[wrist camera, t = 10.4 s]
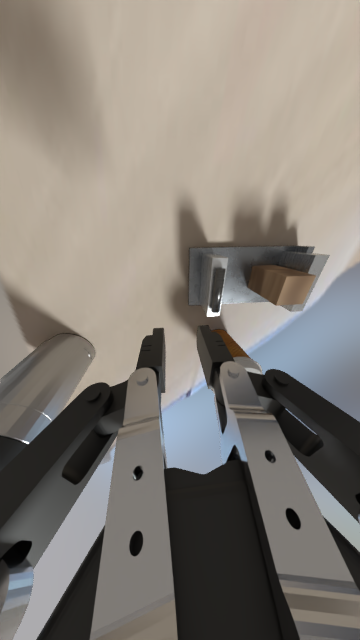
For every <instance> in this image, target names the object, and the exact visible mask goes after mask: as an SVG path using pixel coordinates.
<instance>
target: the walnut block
mask: <svg viewBox="0 0 360 640" xmlns="http://www.w3.org/2000/svg"><path fill="white" fill-rule="evenodd" d="M315 277H316V275H313V274H309V273H305V272H301V271H297V270H293V269H289V268H285V267H281V266H277V265H259V266H253V267H252V272H251V276H250V280H249V284H248V289H250V290H252V291H253V292H255V293H257V294H258V295H260V296H261V297H263V298H265V299H266V300H268V301H269V302H271V303H273V304H274V305H276V306H277V305H296V304H303V303H304V300H305V298H306V296H307V294H308V292H309V290H310V288H311V286H312V284H313V281H314V279H315Z"/></svg>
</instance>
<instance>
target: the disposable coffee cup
mask: <svg viewBox="0 0 360 640" xmlns="http://www.w3.org/2000/svg"><path fill="white" fill-rule="evenodd" d="M211 332H217V333H218V334H219V335H221V337H222V339H223V341H224V342H225V344H226V346H227V348H228V350H229V351H230V353H231V355H232V357H233V359H234V360H235V362H236V363H239V364H240V365H242V366H243V367H244V368H245V369H246V371H248V372H252V373H257V374H262V368H261V366H260V365H259V364H258V363H257V362H255V361H254V360H253V359H251V358H250V357H249V356H248V355H247V354H246V353H245V352H244V351H243V349H242V348H241V347H240V346H239V345H238V344H237V343H236V342H235V341H234V340H233V339H232V337H231V336H230V335H229V334H228V333H227V332H226V331H224V330H221V329H217V330H213V331H211ZM262 375H263V374H262ZM211 390H212V391H213V392H214V389H213V388H212V389H211ZM214 394H215V392H214Z"/></svg>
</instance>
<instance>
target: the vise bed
mask: <svg viewBox="0 0 360 640" xmlns="http://www.w3.org/2000/svg"><path fill="white" fill-rule="evenodd" d="M314 248H315V247H311V246H258V247H209V248H189V294H188V304H189V305H201V304H200V302H199V297H200V281H201V265H202V254H203V253H215V254H218V255H221V256H224V257H227V258H228V263H227V269H226V276H225V283H224V289H223V296H222V302H221V304H228V303H249V302H269V301H268V300H266V299H265V298H263V297H261V296H260V295H258V294H257V293H255V292H253V291H252V290H250V289H248V284H249V280H250V276H251V272H252V267H253V266H259V265H277V266H281V267H285V268H289V269H293V270H297V271H301V272H305V273H309V274H313V275H316V277H315V279H314V281H313V284H312V286H311V288H310V290H309V292H308V294H307V296H306V298H305V300H304V303H303V304H296V305H280V306H282V307H284V308H285V309H287V310H289V311H291V312H293V311H302V310H303V308H304V306H305V304H306V302H307V300H308V298H309V296H310V294H311V292H312V290H313V288H314V286H315V284H316V282H317V280H318V278H319V276H320V274H321V272H322V270H323V268H324V266H325V264H326V262H327V260H328V258H329V256H330V255H324V254H315V253H312V252H313V250H314Z"/></svg>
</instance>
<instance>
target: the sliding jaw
mask: <svg viewBox="0 0 360 640" xmlns="http://www.w3.org/2000/svg"><path fill="white" fill-rule="evenodd" d="M227 263H228V258H227V257H224V256H221V255H218V254H215V253H203V254H202V265H201V281H200V297H199V302H200V304H201V306H202V308H203V310H204V312H205V314H206V315H207V316H219V315H220V309H221V302H222V296H223V289H224V283H225V276H226V269H227Z"/></svg>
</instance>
